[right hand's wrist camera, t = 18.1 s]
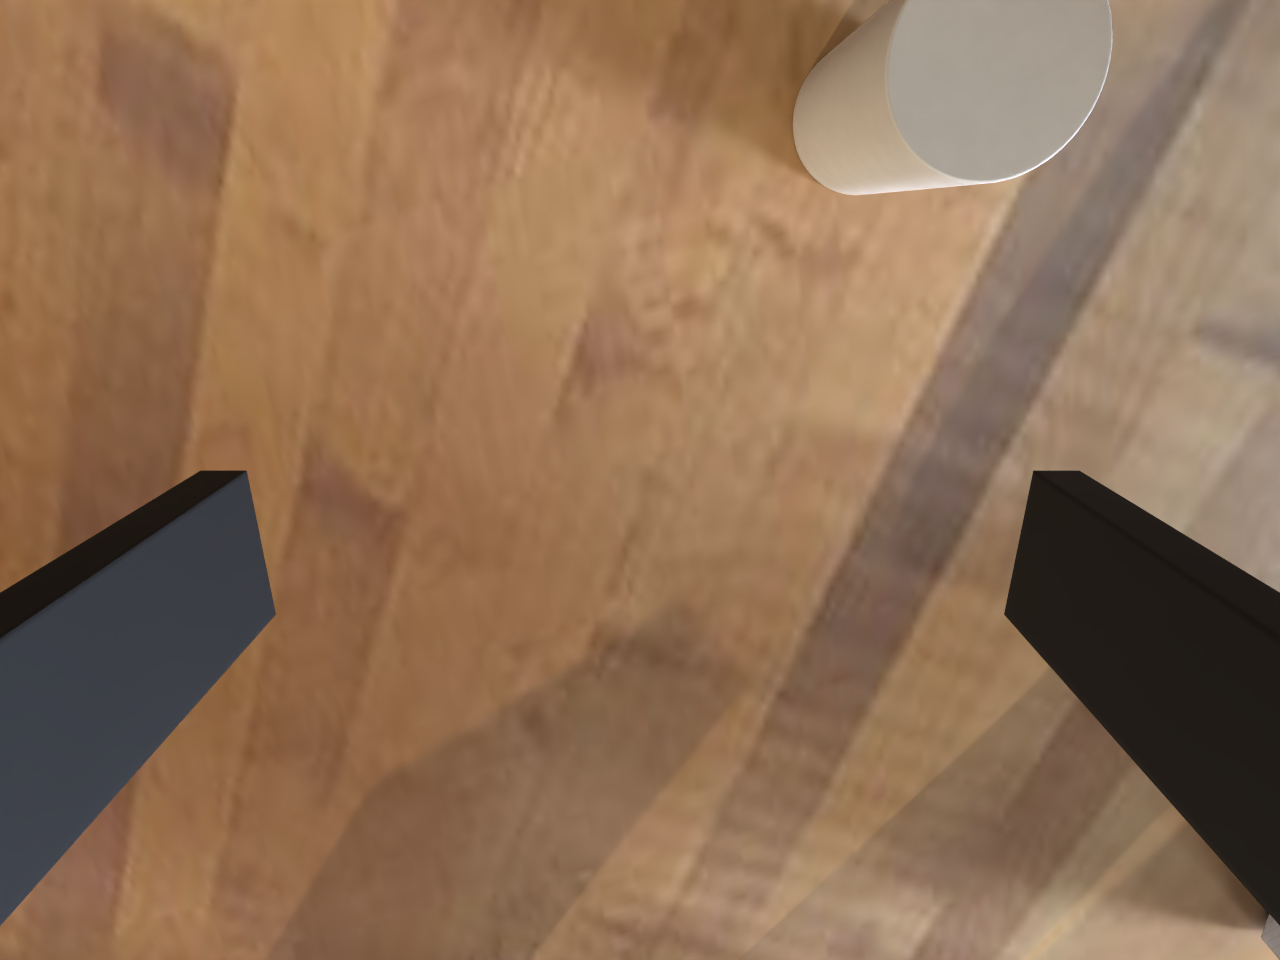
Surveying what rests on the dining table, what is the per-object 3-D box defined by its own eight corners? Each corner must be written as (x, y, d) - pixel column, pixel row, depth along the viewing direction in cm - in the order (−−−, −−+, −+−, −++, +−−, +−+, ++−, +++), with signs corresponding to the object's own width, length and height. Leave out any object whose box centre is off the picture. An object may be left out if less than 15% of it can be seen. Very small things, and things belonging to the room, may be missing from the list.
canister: (768, 90, 28) (848, 13, 17) (899, 7, 27) (1070, -127, 16) (828, 221, 29) (936, 225, 19) (955, 147, 28) (1143, 107, 18)
